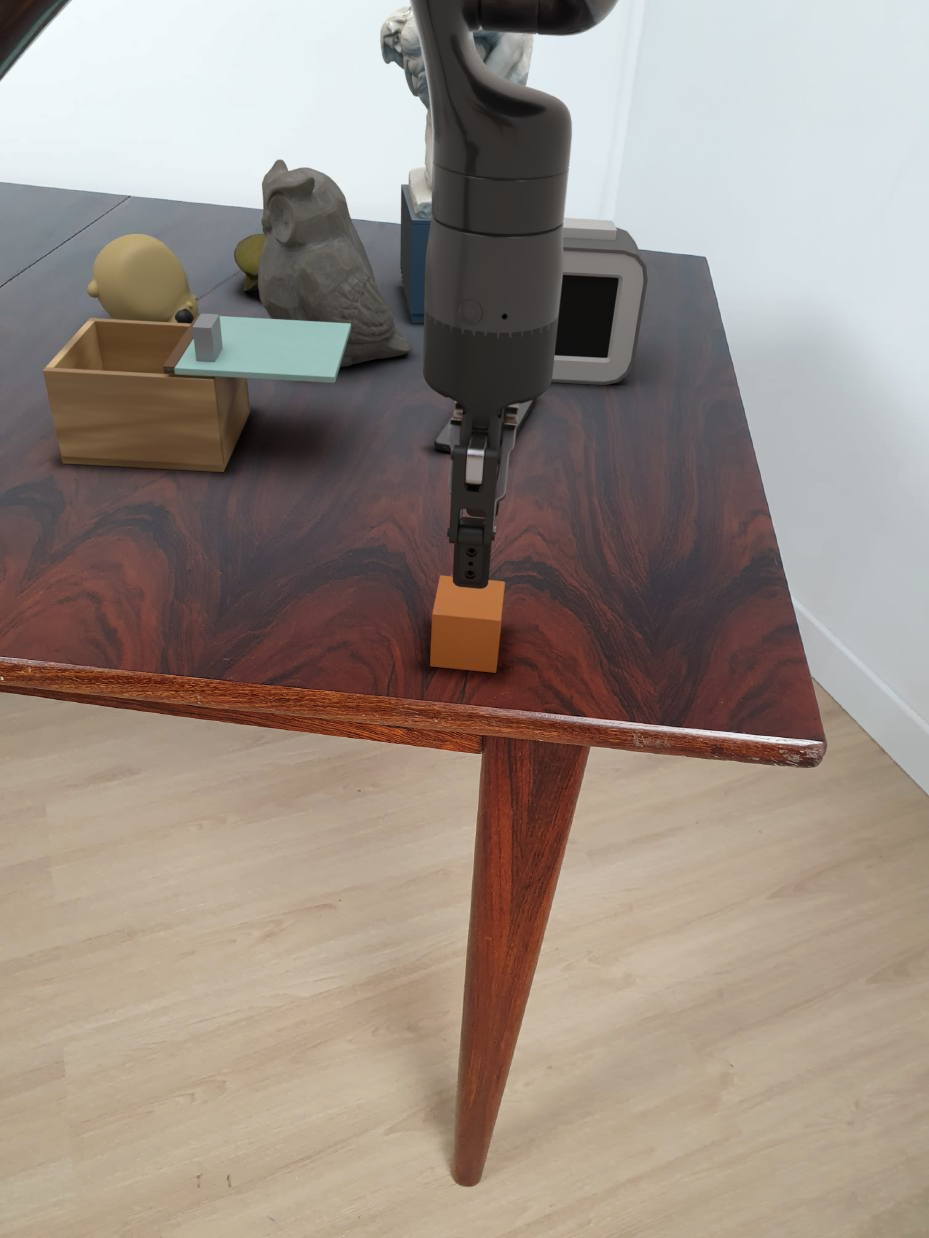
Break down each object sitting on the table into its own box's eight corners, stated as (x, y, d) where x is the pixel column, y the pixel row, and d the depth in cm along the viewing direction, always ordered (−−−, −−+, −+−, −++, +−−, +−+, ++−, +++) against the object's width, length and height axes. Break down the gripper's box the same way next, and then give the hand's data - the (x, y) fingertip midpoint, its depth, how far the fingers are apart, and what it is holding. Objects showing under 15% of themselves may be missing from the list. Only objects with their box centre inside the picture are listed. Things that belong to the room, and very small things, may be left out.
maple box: (223, 472, 88) (213, 380, 83) (62, 463, 88) (42, 370, 82) (250, 412, 98) (242, 326, 92) (105, 404, 97) (89, 317, 92)
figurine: (254, 337, 113) (239, 150, 101) (389, 327, 118) (389, 147, 106) (276, 387, 103) (262, 184, 91) (423, 373, 107) (428, 179, 95)
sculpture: (385, 324, 119) (385, -19, 97) (377, 280, 131) (376, -32, 110) (522, 324, 121) (552, -11, 100) (502, 281, 134) (524, -25, 112)
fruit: (207, 283, 127) (201, 230, 123) (284, 266, 134) (281, 216, 130) (255, 308, 121) (251, 254, 117) (334, 290, 127) (333, 238, 123)
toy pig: (151, 375, 112) (215, 315, 109) (62, 297, 105) (128, 231, 102) (161, 339, 120) (222, 282, 116) (79, 265, 113) (141, 202, 109)
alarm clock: (482, 378, 107) (492, 231, 98) (481, 340, 116) (490, 202, 107) (630, 386, 108) (654, 240, 98) (618, 347, 117) (638, 210, 107)
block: (430, 666, 68) (432, 613, 65) (437, 626, 71) (440, 574, 69) (496, 673, 68) (501, 620, 65) (500, 632, 71) (505, 581, 68)
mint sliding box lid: (335, 383, 83) (333, 342, 80) (163, 373, 82) (157, 332, 80) (351, 329, 92) (350, 291, 90) (198, 320, 92) (194, 282, 90)
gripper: (556, 357, 48) (528, 618, 58) (562, 267, 60) (538, 498, 70) (406, 344, 49) (403, 606, 59) (440, 258, 60) (433, 489, 70)
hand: (476, 547), depth 64 cm, fingers open, 8 cm apart
